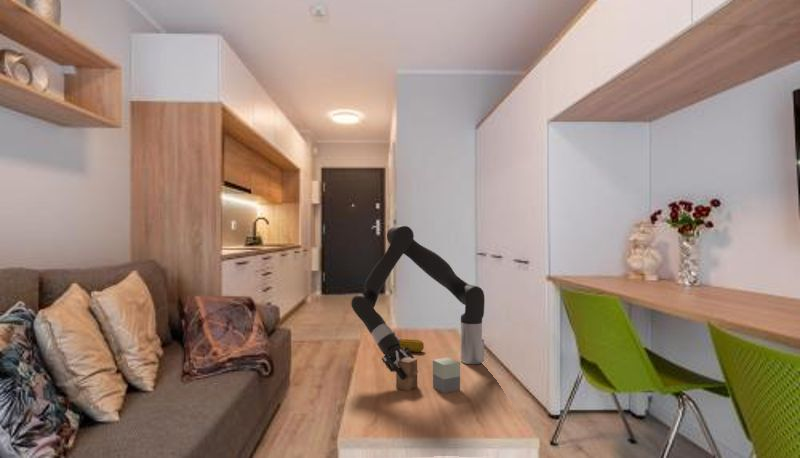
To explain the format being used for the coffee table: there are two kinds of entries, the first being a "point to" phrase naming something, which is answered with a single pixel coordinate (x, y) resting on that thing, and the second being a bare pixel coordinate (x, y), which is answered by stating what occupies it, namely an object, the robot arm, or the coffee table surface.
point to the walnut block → (407, 374)
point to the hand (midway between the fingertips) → (410, 375)
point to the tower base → (446, 384)
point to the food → (412, 345)
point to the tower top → (446, 368)
